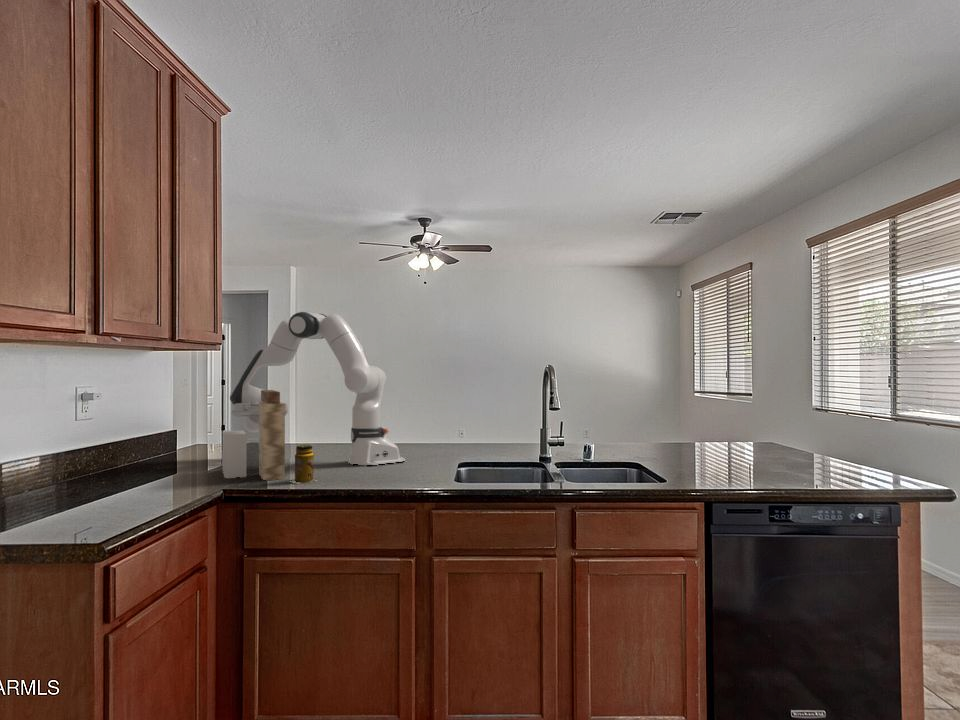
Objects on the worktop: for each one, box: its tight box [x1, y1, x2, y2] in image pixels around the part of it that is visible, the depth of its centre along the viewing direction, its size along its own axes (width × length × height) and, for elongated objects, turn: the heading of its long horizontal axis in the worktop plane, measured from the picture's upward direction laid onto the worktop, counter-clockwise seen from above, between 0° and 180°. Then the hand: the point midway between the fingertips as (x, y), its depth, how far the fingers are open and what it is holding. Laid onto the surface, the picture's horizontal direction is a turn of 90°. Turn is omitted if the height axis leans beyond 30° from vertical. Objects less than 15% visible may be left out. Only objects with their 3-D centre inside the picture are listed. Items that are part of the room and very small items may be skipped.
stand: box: [258, 401, 286, 481], centre depth 211 cm, size 7×13×26 cm, turn 26°
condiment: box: [286, 444, 318, 485], centre depth 202 cm, size 7×8×12 cm
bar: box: [261, 389, 281, 404], centre depth 215 cm, size 4×20×4 cm, turn 26°
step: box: [222, 429, 248, 479], centre depth 216 cm, size 7×15×15 cm, turn 26°
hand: (263, 403), depth 231 cm, fingers open, 8 cm apart
